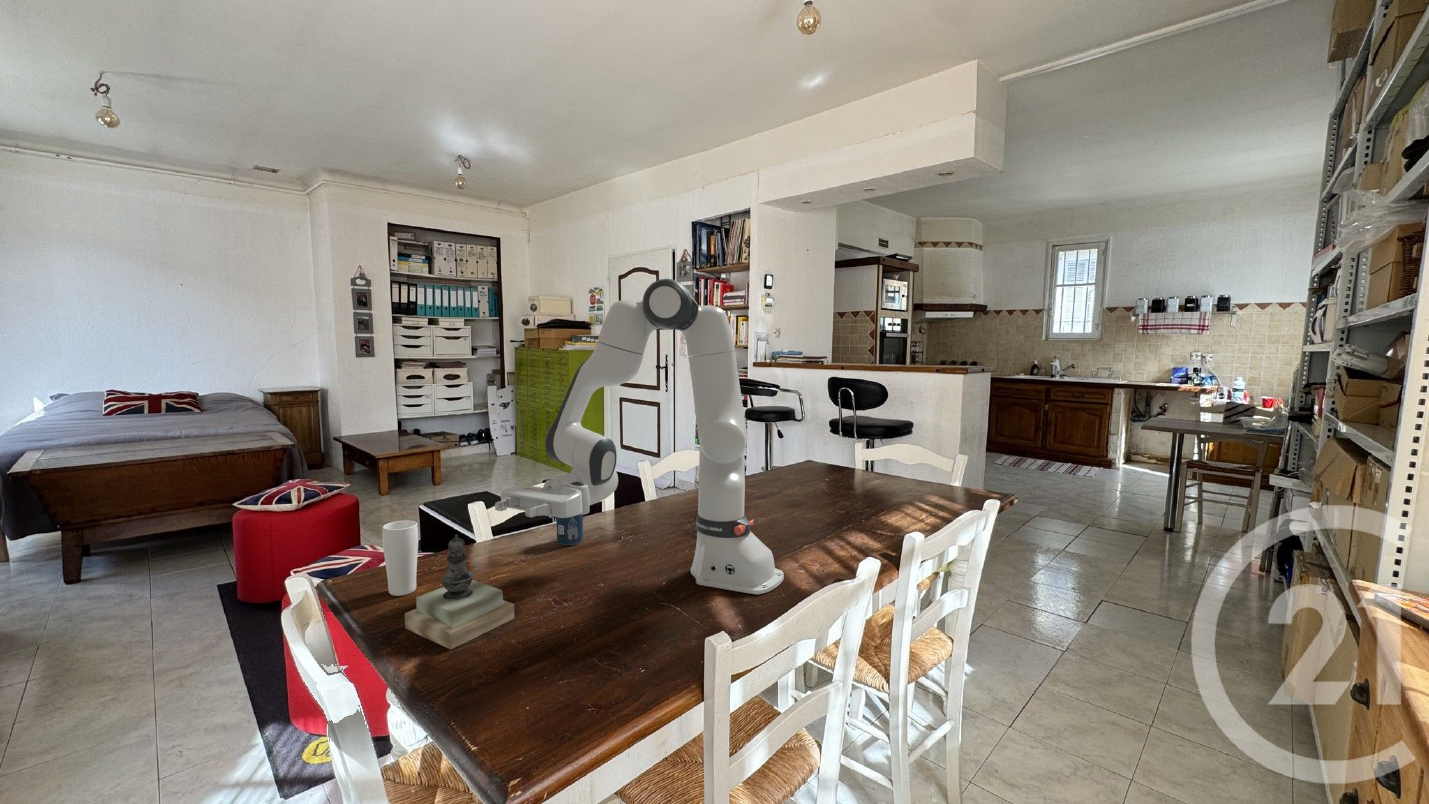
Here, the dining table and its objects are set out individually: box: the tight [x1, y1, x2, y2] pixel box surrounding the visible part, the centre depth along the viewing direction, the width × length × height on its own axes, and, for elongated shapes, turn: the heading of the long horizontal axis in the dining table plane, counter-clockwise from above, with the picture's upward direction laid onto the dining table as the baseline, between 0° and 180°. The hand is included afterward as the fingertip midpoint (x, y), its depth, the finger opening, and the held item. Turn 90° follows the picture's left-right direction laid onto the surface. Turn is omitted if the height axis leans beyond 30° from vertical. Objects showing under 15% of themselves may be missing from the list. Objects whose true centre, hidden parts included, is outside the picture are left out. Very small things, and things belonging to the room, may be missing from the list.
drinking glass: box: [382, 519, 419, 597], centre depth 126 cm, size 7×7×15 cm
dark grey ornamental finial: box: [440, 534, 475, 600], centre depth 112 cm, size 6×6×12 cm
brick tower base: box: [404, 579, 515, 650], centre depth 113 cm, size 14×14×6 cm
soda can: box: [556, 514, 584, 546], centre depth 159 cm, size 7×7×12 cm
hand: (512, 510), depth 122 cm, fingers open, 8 cm apart
